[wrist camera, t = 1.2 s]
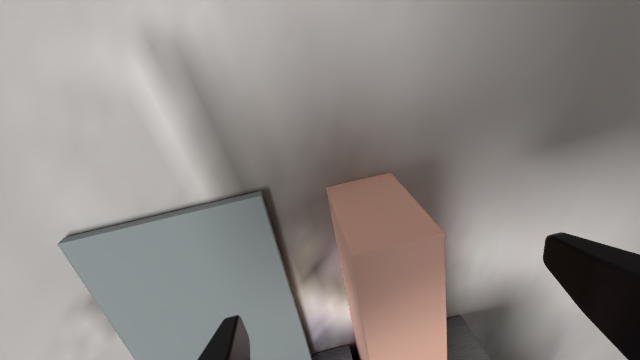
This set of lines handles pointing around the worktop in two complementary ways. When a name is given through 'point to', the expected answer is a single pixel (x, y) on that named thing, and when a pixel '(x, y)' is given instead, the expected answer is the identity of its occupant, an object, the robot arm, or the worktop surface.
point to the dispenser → (461, 345)
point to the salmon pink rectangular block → (390, 269)
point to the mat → (192, 280)
